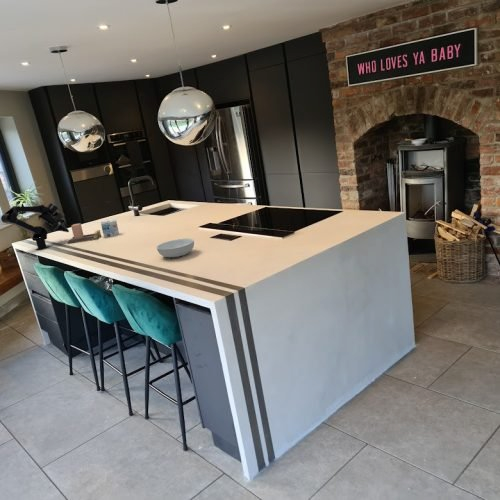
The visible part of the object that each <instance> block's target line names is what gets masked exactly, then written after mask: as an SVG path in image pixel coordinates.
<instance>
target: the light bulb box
mask: <svg viewBox="0 0 500 500" xmlns="http://www.w3.org/2000/svg"><path fill="white" fill-rule="evenodd" d="M100 225H101V230H102V234H103V238H104V239H105V238H112V237H118V235H120V231H119V227H118V223H117V219H111V220H106V221H102V222H101V223H100Z"/></svg>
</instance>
